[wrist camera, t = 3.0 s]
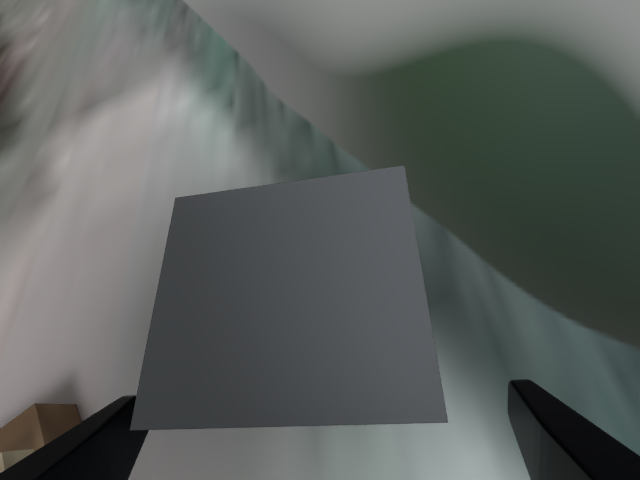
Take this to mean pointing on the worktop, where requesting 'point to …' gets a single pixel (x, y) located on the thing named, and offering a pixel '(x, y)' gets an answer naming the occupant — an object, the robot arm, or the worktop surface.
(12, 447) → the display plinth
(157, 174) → the worktop surface
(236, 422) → the tall grey pillar block
